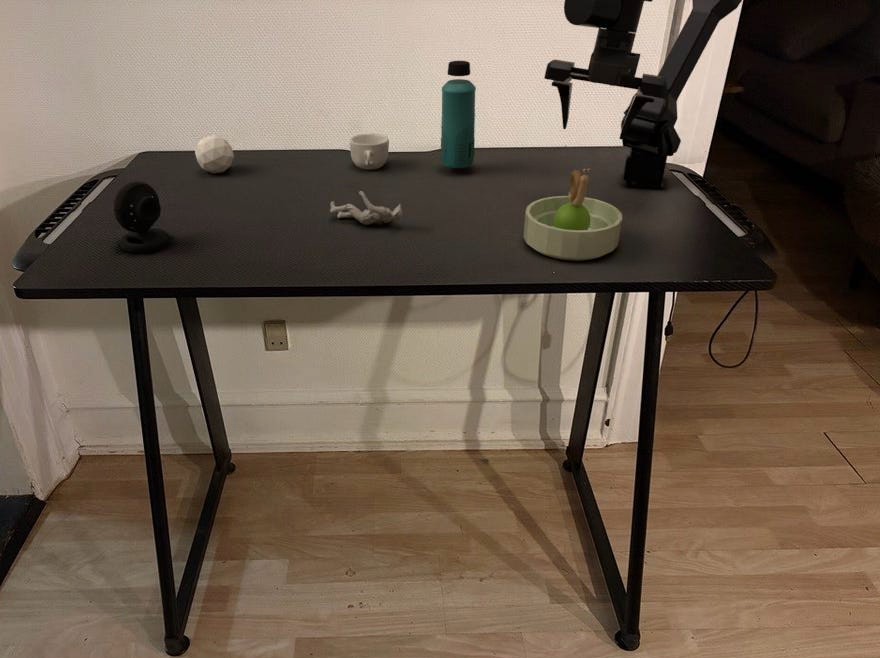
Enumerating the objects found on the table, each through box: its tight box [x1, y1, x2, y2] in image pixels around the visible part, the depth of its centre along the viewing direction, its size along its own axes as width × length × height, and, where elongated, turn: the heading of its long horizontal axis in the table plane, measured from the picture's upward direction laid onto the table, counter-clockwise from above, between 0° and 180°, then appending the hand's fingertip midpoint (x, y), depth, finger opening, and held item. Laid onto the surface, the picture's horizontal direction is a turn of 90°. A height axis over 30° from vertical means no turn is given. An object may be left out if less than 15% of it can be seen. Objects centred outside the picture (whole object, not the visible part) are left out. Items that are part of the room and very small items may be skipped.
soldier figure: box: [330, 190, 403, 226], centre depth 119 cm, size 8×5×12 cm
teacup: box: [349, 132, 390, 171], centre depth 142 cm, size 10×8×5 cm
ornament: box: [194, 132, 235, 175], centre depth 141 cm, size 7×7×8 cm
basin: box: [523, 195, 623, 261], centre depth 111 cm, size 14×14×5 cm
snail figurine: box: [554, 167, 592, 231], centre depth 108 cm, size 5×6×12 cm
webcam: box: [113, 180, 170, 254], centre depth 111 cm, size 8×8×10 cm
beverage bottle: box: [440, 60, 477, 169], centre depth 136 cm, size 6×7×20 cm
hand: (592, 133), depth 119 cm, fingers open, 9 cm apart
